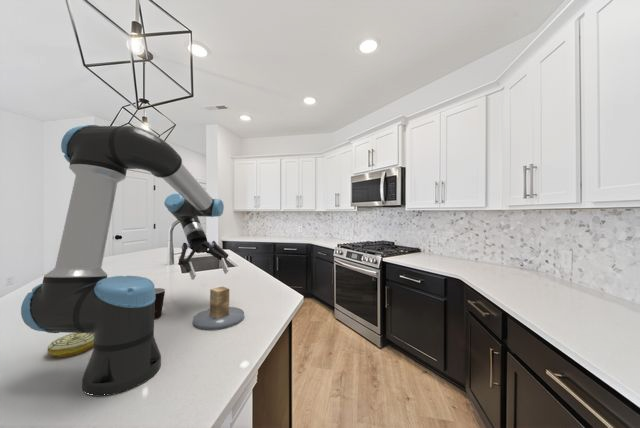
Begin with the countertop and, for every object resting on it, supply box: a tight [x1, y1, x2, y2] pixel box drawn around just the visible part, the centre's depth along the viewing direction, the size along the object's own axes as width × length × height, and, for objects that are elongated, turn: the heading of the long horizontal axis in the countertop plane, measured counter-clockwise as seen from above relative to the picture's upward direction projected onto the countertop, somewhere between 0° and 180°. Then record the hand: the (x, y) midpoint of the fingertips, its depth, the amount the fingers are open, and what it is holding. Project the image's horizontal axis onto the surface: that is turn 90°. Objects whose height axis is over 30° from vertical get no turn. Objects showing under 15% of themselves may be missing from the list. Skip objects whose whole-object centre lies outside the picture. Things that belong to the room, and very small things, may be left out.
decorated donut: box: [47, 333, 94, 358], centre depth 72 cm, size 10×11×4 cm
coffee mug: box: [154, 287, 166, 321], centre depth 94 cm, size 12×9×10 cm
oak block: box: [209, 286, 230, 319], centre depth 94 cm, size 5×5×10 cm
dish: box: [192, 306, 245, 331], centre depth 94 cm, size 18×18×2 cm
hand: (211, 274), depth 99 cm, fingers open, 13 cm apart
